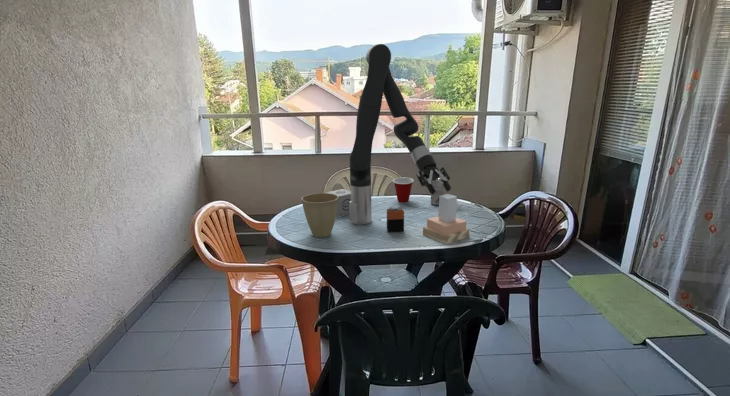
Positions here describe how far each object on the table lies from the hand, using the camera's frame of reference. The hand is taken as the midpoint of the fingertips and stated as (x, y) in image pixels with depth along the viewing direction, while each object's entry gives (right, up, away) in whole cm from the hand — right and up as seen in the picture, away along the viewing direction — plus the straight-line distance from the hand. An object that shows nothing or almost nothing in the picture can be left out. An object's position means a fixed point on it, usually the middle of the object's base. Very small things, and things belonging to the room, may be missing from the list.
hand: (441, 191), depth 149 cm
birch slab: (+2, -18, +3) cm, 19 cm away
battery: (-18, -16, +9) cm, 26 cm away
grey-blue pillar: (+2, -11, +1) cm, 12 cm away
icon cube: (-42, -10, +34) cm, 55 cm away
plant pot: (-49, -18, +6) cm, 52 cm away
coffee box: (+7, -5, +47) cm, 48 cm away
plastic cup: (-10, -5, +49) cm, 50 cm away
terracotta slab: (+2, -15, +2) cm, 15 cm away
